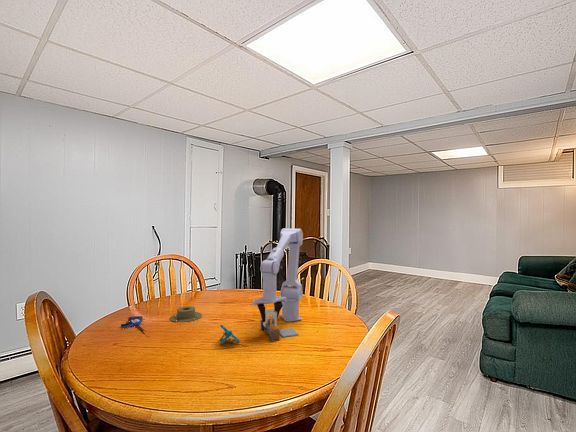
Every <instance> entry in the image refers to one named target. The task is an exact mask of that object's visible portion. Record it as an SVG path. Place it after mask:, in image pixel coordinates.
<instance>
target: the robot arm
mask: <svg viewBox="0 0 576 432" xmlns="http://www.w3.org/2000/svg"><path fill="white" fill-rule="evenodd" d="M279 236H280V238H279V241H278V243H277V246H276V247H273V248H272V249H271V251H270V253H269V254H268V256H267V258H266V259H264V260H263V261H262V262H260V267H259V270H260V273H261V278H262V297H261V298H258V299H257V298H256V299H252V306H257V308H258V311H259V313H260V316H261V320H262V321H263V322H265V310H266V305H268V304H269V305H270V304H273V309H275V310H276V311H277V321H278V320H279V316H280V317H281V318H282V319H283V320H284V321H285V322H286V323H287V322H295V321H302V320H303V318H302V317H300V301H301V300H302V298H303V294H304V293H303V283H302V284H301V282H300V281H299V280H298V274H299V273H298V272H299V261H300V260H299V259H300V247H301V246H303V241H304V240H303V239H304V232H303V230H302V229H301V228H287V227H286V228H284V227H283V228H282V229H281V230H280V235H279ZM287 247H289V251H288V262H287V263H288V264H287V273H286V274H287V276H286V280H284V281H283V282H282V284H281V288H280V292H279V293H280V294H279V295H280V296H277V274H278V273H279V270H280V266H281V261H282V260H283V258H284V255H285V252H284V251H285V250H286V248H287ZM280 312H281V314H280Z"/></svg>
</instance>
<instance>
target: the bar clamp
mask: <svg viewBox="0 0 576 432" xmlns="http://www.w3.org/2000/svg"><path fill="white" fill-rule="evenodd" d="M127 318H128V319H127V321H130V322H126V323H121V324H120V327H121V326H122V327H121V329H122V328H127V327H130V328H132V327H131V326H135V327H137V328H138V329H139V330H140V331H141V332H142V333H143V331H145V330H144V329H143V328H142V327H141V324H142V323H143V322H142V321H143V316H140V315H138V316H135V315H134V316H128V317H127ZM141 322H142V323H141ZM140 323H141V324H140ZM139 324H140V325H139ZM127 329H128V328H127Z"/></svg>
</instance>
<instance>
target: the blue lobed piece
mask: <svg viewBox="0 0 576 432" xmlns="http://www.w3.org/2000/svg"><path fill="white" fill-rule="evenodd" d="M219 328H221V329H223V332H222V335H221V336H220V338H219V340H220V345H222V346H223V345H224V343H225V342H226V341H227V340H228V339H230V338H233V340H235V341H236V342H237V343H240V342H241V340H240V339H239V338H238V337H237V336H236V335H234V334H233V330H229V329H228V328H226V327H225V326H224V325H223V324H220V325H219Z"/></svg>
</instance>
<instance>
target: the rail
mask: <svg viewBox="0 0 576 432" xmlns="http://www.w3.org/2000/svg"><path fill="white" fill-rule="evenodd" d="M259 324H260V329H259V330H261V331H264V332H265V333H266V334H267V335H268V341H269V342H276V341H280V340H281V338H280V337H281V335H280V330H281V329H279V328H274V329H273V328H272V326H271V319H270V318H268V328H265V327H264V325H263V321H262V319H260V323H259Z"/></svg>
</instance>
